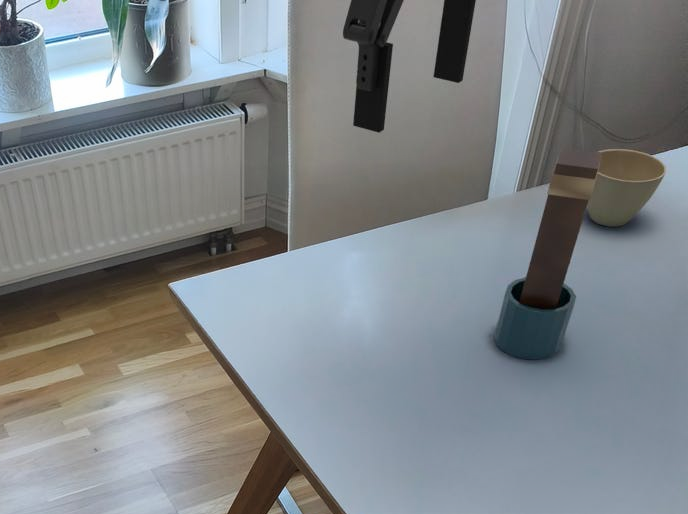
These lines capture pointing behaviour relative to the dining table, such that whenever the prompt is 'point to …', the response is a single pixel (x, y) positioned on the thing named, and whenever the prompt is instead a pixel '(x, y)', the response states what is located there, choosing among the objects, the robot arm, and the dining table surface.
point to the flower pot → (623, 185)
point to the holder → (532, 324)
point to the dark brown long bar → (560, 226)
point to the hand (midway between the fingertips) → (409, 102)
